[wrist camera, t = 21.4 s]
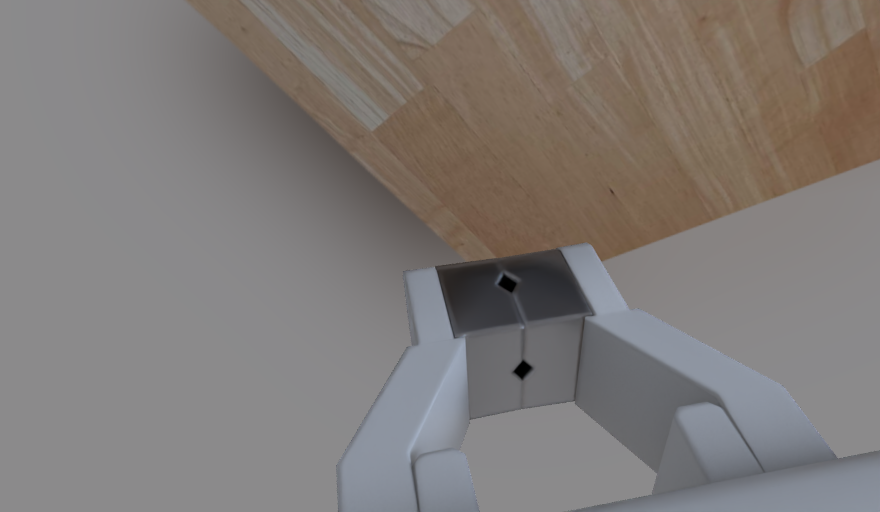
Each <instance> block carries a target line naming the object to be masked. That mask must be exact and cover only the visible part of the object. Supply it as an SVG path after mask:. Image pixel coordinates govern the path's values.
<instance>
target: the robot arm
mask: <svg viewBox="0 0 880 512" xmlns="http://www.w3.org/2000/svg"><path fill="white" fill-rule="evenodd" d="M403 280H404V288H405V297H406V305H407V313H408V321H409V329H410V336H411V344H412V346H409V347H407V348H406V350H405V352H404V353H403V355H402V356H401V358H400V360H399V361H398V363H397V365H396V366H395V368H394V370H393V372H392V373H391V375H390V376H389V378H388V380H387V382H386V383H385V385H384V386H383V388H382V390H381V392H380V393H379V395H378V397H377V398H376V400H375V402H374V404H373V405H372V407H371V408H370V410H369V412H368V413H367V415H366V417H365V418H364V420H363V422H362V424H361V426H360V427H359V429H358V430H357V432H356V434H355V435H354V437H353V439H352V440H351V442H350V444H349V445H348V447H347V449H346V450H345V452H344V454H343V455H342V457H341V459H340V461H339V462H338V464H337V465H336V468H337V469H336V470H337V493H338V494H337V495H338V512H480V511H479V507H478V504H477V499H476V495H475V491H474V488H473V483H472V479H471V475H470V471H469V466H468V463H467V458H466V455H465V454H464V453H462V452H460V448H461V445H462V442H463V440H464V437H465V434H466V432H467V429H468V426H469V424H470V420H471V419H476V418H481V417H485V416H490V415H495V414H500V413H505V412H509V411H515V410H519V409H525V408H532V407H539V406H546V405H552V404H559V403H566V402H572V401H575V404H576V405H577V406H578V407H579V408H581V409H582V410H583V411H584V412H585V413H586V414H588V415H589V416H590V417H591V418H592V419H593V420H595V421H596V422H597V423H598V424H599V425H601V426H602V427H603V428H604V429H605V430H607V431H608V432H609V433H610V434H611V435H612V436H614V437H615V438H616V439H617V440H618V441H619V442H621V443H622V444H623V445H624V446H626V447H627V448H628V449H629V450H630V451H631V452H633V453H634V454H635V455H636V456H637V457H638V458H640V459H641V460H642V461H643V462H644V463H645V464H647V465H648V466H649V467H650V468H651V469H652V470H654V471H655V472H656V473H657V477H656V481H655V484H654V488H653V492H652V495H648V496H643V497H638V498H633V499H628V500H623V501H618V502H612V503H608V504H602V505H597V506H592V507H587V508H582V509H576V510H571V511H566V512H880V450H879V451H874V452H869V453H864V454H859V455H854V456H848V457H843V458H839V459H838V458H837V457H836V455H835V454H834V453H833V451H832V450H831V449H830V447H829V446H828V445H827V443H826V442H825V441H824V439H823V438H822V437H821V435H820V434H819V433H818V431H817V430H816V429H815V428H814V426H813V425H812V424H811V422H810V421H809V420H808V418H807V417H806V416H805V414H804V413H803V412H802V410H801V409H800V408H799V406H798V405H797V404H796V402H795V401H794V400H793V398H792V397H791V396H790V395H789V393H788V392H787V390H786V389H785V388H784V386H782V385H780V384H779V383H777V382H775V381H773V380H771V379H769V378H767V377H766V376H764V375H762V374H760V373H758V372H756V371H754V370H753V369H751V368H749V367H747V366H745V365H743V364H741V363H740V362H738V361H736V360H734V359H732V358H730V357H728V356H726V355H725V354H723V353H721V352H719V351H717V350H715V349H714V348H711V347H710V346H708V345H706V344H704V343H702V342H700V341H699V340H697V339H695V338H693V337H691V336H689V335H687V334H686V333H684V332H682V331H680V330H678V329H676V328H674V327H672V326H671V325H669V324H667V323H665V322H663V321H661V320H660V319H658V318H656V317H654V316H652V315H650V314H648V313H647V312H645V311H643V310H641V309H639V308H638V309H632V310H630V309H629V308H628V306H627V304H626V302H625V301H624V299H623V298H622V296H621V294H620V292H619V291H618V289H617V287H616V286H615V284H614V283H613V281H612V279H611V277H610V276H609V274H608V272H607V271H606V269H605V267H604V266H603V264H602V262H601V261H600V259H599V257H598V256H597V254H596V252H595V250H594V249H593V247H592V246H591V245H590V244H588V243H582V244H576V245H570V246H565V247H559V248H556V249H551V250H545V251H539V252H533V253H526V254H520V255H514V256H508V257H501V258H494V259H486V260H479V261H471V262H463V263H456V264H449V265H441V266H435V268H434V267H429V268H422V269H415V270H407V271H403Z"/></svg>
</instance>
